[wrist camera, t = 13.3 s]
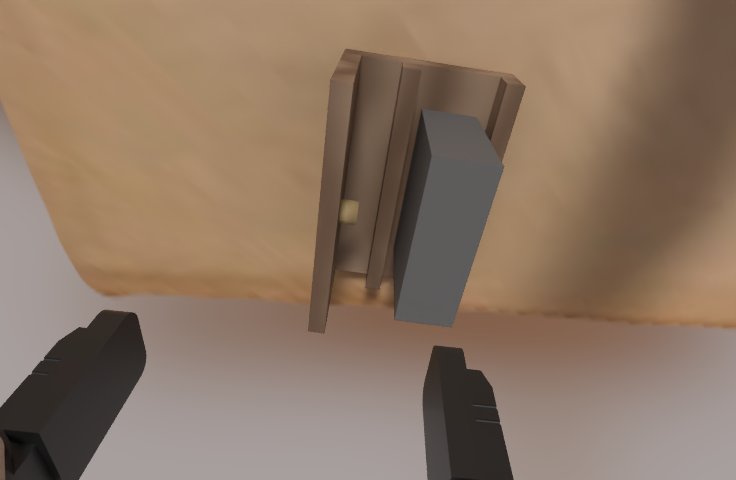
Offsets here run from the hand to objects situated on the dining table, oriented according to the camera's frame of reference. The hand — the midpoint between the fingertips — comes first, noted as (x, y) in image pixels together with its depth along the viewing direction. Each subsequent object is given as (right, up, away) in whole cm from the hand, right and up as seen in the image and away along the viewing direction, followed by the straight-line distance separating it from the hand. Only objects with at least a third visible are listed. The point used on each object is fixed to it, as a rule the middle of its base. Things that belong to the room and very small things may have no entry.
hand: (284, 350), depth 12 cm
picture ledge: (+5, +8, +24) cm, 26 cm away
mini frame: (+7, +7, +23) cm, 25 cm away
